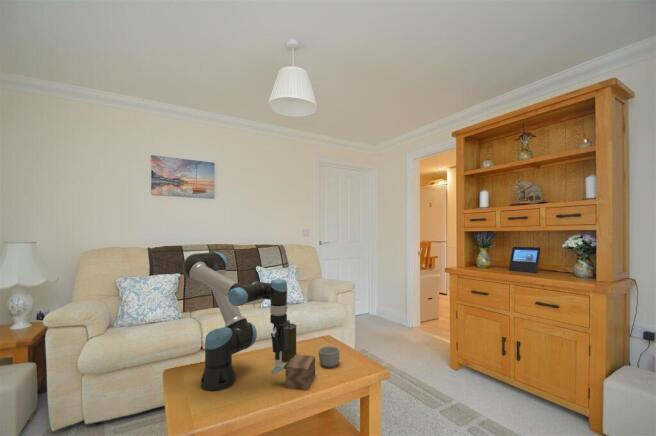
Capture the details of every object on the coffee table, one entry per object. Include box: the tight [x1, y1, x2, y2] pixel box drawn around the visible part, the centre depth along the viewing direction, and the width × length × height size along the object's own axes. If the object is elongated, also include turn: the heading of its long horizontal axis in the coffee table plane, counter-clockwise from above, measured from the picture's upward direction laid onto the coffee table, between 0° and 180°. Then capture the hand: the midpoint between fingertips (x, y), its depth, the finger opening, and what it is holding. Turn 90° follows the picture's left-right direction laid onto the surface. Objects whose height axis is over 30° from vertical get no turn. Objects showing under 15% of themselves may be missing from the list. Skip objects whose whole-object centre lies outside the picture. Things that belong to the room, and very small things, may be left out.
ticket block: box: [285, 354, 316, 391], centre depth 147 cm, size 10×14×9 cm
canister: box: [282, 319, 297, 363], centre depth 173 cm, size 11×10×20 cm
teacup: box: [318, 344, 340, 368], centre depth 166 cm, size 14×11×8 cm
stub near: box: [270, 362, 288, 375], centre depth 145 cm, size 7×5×1 cm
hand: (278, 365), depth 145 cm, fingers closed
